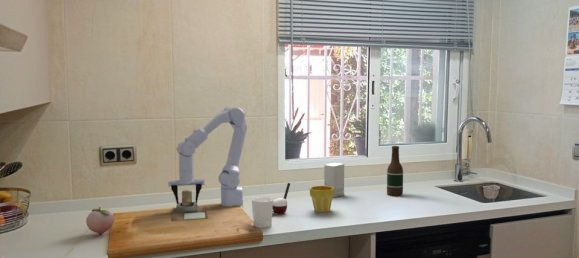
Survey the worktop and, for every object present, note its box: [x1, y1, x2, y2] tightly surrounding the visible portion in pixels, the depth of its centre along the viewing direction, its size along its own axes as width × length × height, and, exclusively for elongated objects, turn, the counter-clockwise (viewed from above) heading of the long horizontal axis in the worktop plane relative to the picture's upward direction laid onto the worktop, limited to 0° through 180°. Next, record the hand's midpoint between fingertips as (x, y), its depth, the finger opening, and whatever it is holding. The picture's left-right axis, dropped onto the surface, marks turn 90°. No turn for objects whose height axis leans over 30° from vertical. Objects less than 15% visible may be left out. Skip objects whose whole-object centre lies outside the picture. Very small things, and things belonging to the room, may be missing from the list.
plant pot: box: [309, 185, 334, 213], centre depth 191 cm, size 10×10×10 cm
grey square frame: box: [175, 200, 198, 213], centre depth 187 cm, size 8×8×2 cm
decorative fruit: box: [85, 206, 115, 235], centre depth 159 cm, size 9×8×10 cm
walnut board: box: [170, 205, 209, 222], centre depth 183 cm, size 14×21×2 cm, turn 12°
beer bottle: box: [386, 145, 404, 198], centre depth 219 cm, size 8×8×24 cm
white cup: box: [251, 196, 274, 229], centre depth 170 cm, size 8×8×10 cm
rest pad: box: [184, 212, 205, 221], centre depth 178 cm, size 8×8×1 cm
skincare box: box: [323, 162, 345, 199], centre depth 219 cm, size 8×7×16 cm
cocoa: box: [272, 182, 291, 215], centre depth 187 cm, size 10×6×12 cm, turn 102°
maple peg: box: [181, 189, 193, 206], centre depth 187 cm, size 4×4×8 cm
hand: (187, 202), depth 187 cm, fingers open, 7 cm apart
